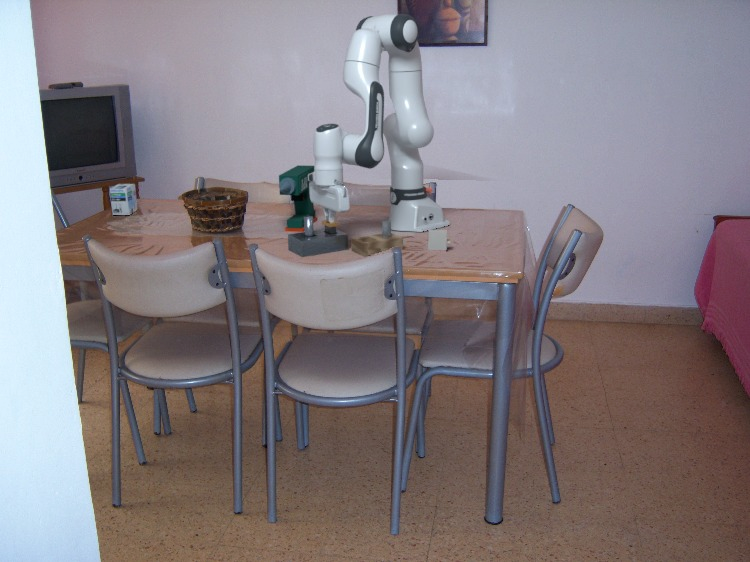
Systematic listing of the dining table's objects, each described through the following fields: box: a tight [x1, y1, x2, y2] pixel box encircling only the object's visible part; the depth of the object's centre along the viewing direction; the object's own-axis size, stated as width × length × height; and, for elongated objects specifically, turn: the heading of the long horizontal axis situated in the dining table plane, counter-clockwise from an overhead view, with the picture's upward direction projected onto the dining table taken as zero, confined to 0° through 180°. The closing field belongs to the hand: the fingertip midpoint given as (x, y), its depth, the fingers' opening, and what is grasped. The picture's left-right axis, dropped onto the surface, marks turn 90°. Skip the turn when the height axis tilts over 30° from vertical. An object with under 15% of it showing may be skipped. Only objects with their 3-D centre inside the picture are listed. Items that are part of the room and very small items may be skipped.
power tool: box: [278, 165, 319, 233], centre depth 270 cm, size 32×7×20 cm, turn 168°
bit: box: [304, 216, 315, 238], centre depth 244 cm, size 3×3×11 cm
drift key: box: [321, 219, 340, 235], centre depth 248 cm, size 3×5×8 cm, turn 31°
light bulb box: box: [109, 183, 138, 216], centre depth 300 cm, size 11×7×11 cm, turn 179°
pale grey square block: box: [427, 228, 452, 250], centre depth 243 cm, size 3×7×7 cm, turn 87°
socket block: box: [287, 228, 349, 258], centre depth 246 cm, size 16×10×5 cm, turn 121°
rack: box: [350, 219, 404, 257], centre depth 244 cm, size 14×8×9 cm, turn 121°
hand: (329, 221), depth 246 cm, fingers closed, pressing on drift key
